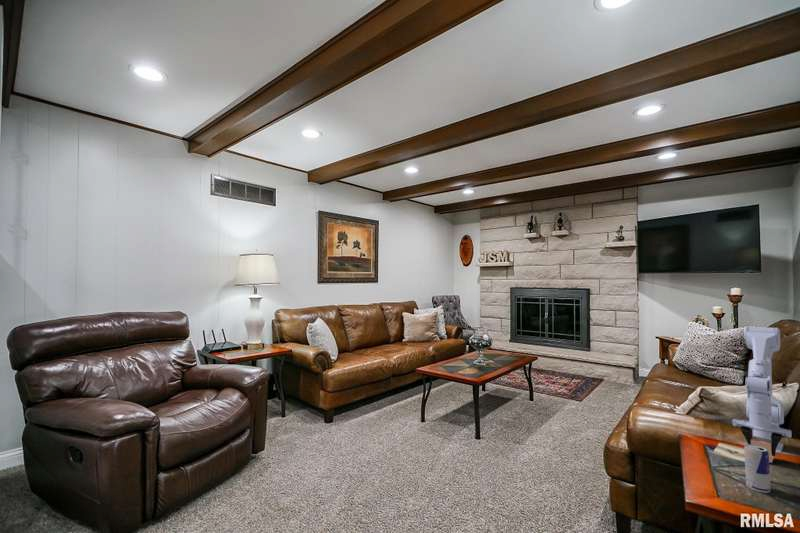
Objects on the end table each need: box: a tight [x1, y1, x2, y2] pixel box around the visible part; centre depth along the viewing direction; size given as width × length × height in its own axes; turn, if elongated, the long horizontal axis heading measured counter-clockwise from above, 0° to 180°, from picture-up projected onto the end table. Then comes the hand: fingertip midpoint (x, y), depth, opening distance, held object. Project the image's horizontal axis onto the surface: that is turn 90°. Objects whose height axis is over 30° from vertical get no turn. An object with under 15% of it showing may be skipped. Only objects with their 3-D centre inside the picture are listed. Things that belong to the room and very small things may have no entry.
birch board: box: [711, 442, 745, 463], centre depth 136 cm, size 13×9×1 cm
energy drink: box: [743, 443, 772, 494], centre depth 113 cm, size 5×5×12 cm
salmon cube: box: [751, 435, 775, 464], centre depth 130 cm, size 5×5×6 cm
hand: (762, 452), depth 130 cm, fingers closed on salmon cube, 5 cm apart
